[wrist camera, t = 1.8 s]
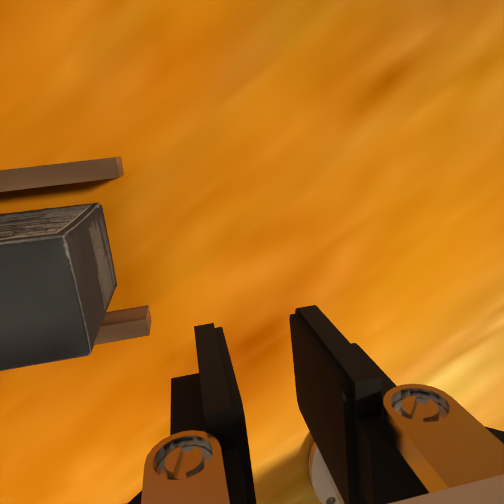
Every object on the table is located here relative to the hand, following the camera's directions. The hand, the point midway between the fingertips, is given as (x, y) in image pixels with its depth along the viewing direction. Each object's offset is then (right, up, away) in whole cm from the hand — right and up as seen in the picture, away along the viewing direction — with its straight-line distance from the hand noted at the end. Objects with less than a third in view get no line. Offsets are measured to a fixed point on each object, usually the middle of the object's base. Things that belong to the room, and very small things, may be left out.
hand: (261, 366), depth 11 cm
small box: (-15, +3, +17) cm, 23 cm away
